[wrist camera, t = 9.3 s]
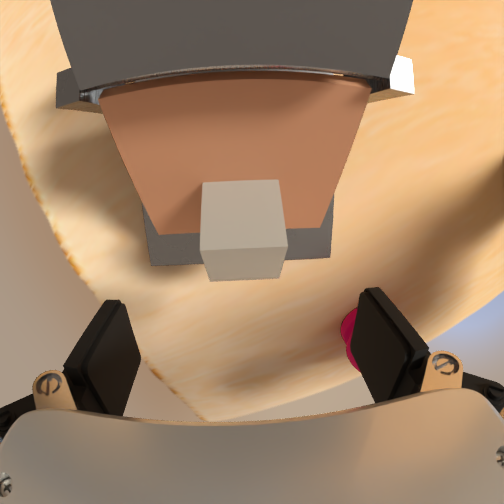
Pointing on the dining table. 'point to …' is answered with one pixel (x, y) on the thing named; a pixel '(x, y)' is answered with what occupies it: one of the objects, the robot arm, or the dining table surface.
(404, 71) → the frame
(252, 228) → the light grey cube
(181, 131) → the trapdoor
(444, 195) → the dining table surface
